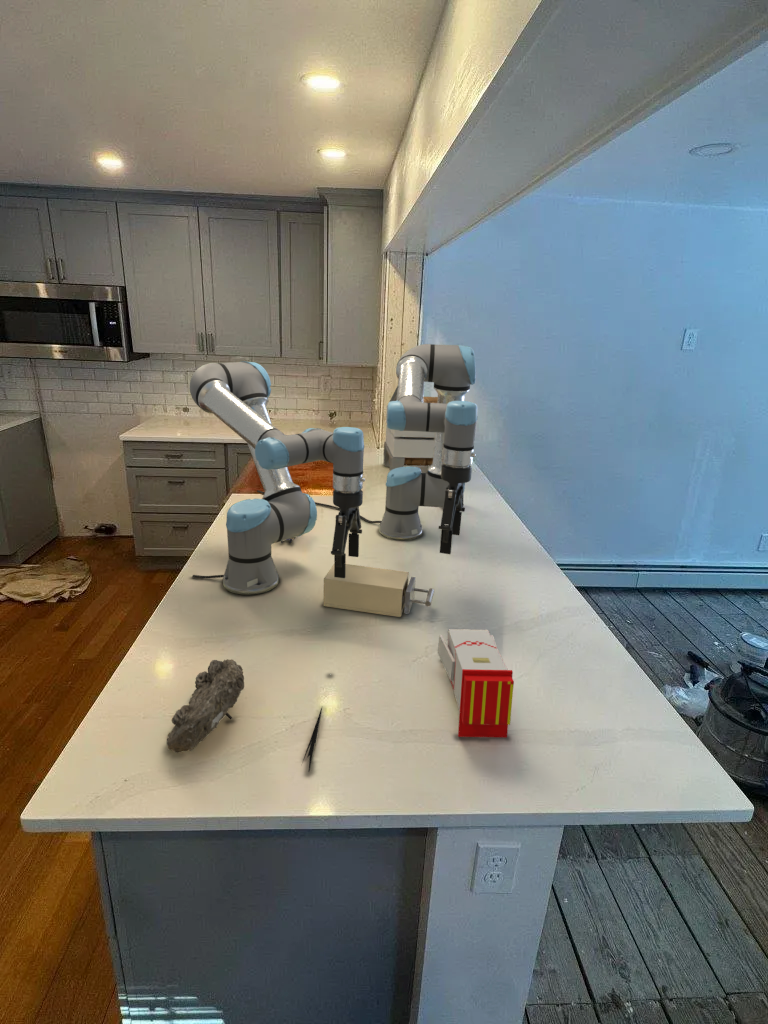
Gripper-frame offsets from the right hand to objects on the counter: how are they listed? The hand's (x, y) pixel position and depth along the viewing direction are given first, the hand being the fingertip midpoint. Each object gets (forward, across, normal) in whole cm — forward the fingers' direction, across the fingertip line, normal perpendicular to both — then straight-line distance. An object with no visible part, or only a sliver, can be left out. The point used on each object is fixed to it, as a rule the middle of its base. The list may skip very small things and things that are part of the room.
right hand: (450, 543), depth 148 cm
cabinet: (+18, -7, +20) cm, 28 cm away
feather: (+18, -54, +14) cm, 59 cm away
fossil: (+18, -60, +33) cm, 71 cm away
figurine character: (+17, +26, +59) cm, 66 cm away
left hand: (+8, -8, +26) cm, 28 cm away
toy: (+18, -36, -12) cm, 42 cm away
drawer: (+17, -7, +15) cm, 23 cm away
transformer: (+17, +123, +36) cm, 130 cm away
